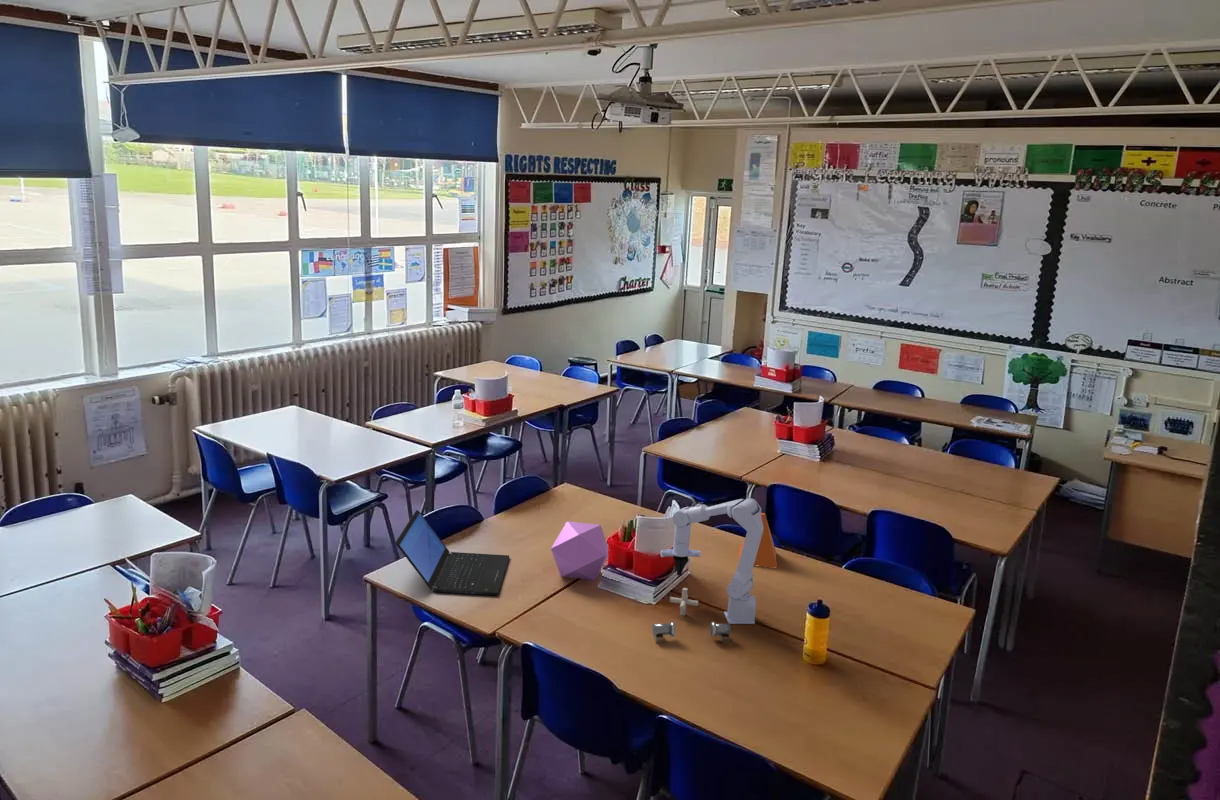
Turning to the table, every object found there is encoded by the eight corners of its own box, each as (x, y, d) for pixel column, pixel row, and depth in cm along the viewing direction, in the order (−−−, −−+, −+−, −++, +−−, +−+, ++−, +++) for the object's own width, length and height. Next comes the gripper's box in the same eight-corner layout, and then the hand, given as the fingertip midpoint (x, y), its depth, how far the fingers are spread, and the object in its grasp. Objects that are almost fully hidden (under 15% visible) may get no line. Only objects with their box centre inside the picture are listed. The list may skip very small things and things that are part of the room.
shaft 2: (726, 635, 290) (728, 619, 289) (729, 643, 285) (731, 626, 284) (709, 635, 290) (710, 619, 288) (712, 643, 285) (713, 626, 283)
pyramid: (738, 564, 346) (742, 518, 341) (738, 548, 361) (743, 504, 356) (777, 569, 344) (782, 523, 339) (776, 553, 359) (781, 509, 354)
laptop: (498, 598, 308) (499, 548, 303) (394, 591, 308) (394, 542, 303) (510, 558, 340) (511, 513, 335) (416, 553, 340) (416, 507, 335)
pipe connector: (695, 623, 297) (697, 597, 295) (667, 619, 299) (669, 593, 297) (698, 609, 307) (700, 584, 304) (670, 605, 309) (673, 580, 306)
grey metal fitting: (671, 635, 288) (673, 619, 287) (674, 643, 283) (675, 626, 282) (651, 635, 288) (652, 619, 286) (653, 643, 283) (654, 626, 281)
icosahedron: (561, 538, 344) (556, 506, 325) (613, 544, 342) (611, 511, 322) (551, 588, 331) (545, 558, 311) (605, 595, 328) (602, 564, 309)
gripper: (699, 535, 314) (696, 569, 317) (660, 535, 312) (657, 569, 316) (702, 543, 307) (699, 578, 310) (663, 543, 306) (660, 578, 309)
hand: (678, 574), depth 313 cm, fingers closed
